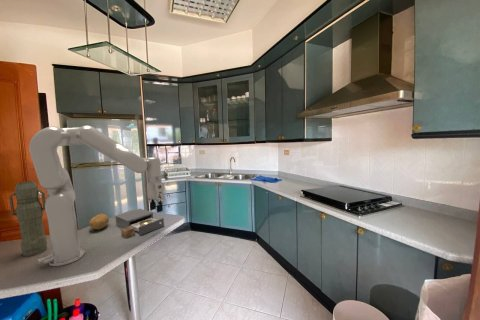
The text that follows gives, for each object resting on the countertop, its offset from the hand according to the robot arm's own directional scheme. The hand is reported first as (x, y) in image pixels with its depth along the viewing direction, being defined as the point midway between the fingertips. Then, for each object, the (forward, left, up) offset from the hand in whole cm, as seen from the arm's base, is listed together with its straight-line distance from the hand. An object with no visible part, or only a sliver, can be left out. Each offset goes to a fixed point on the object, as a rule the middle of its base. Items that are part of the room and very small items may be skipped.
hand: (156, 210), depth 116 cm
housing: (0, +26, -14) cm, 29 cm away
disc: (0, +13, -12) cm, 17 cm away
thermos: (-45, +35, -14) cm, 59 cm away
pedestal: (-11, +12, -14) cm, 21 cm away
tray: (0, +13, -13) cm, 19 cm away
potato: (-16, +38, -14) cm, 43 cm away
